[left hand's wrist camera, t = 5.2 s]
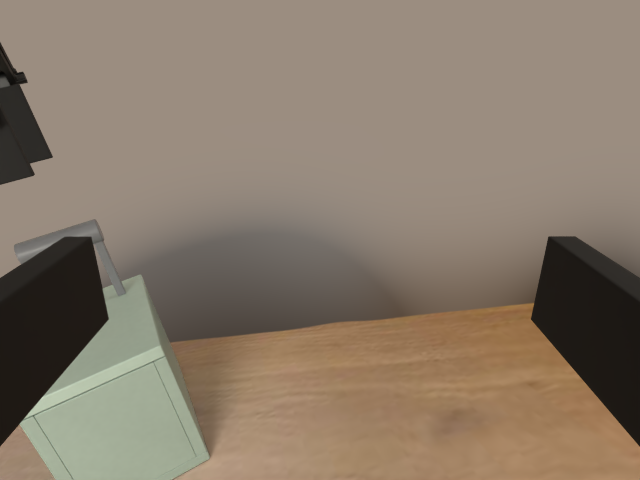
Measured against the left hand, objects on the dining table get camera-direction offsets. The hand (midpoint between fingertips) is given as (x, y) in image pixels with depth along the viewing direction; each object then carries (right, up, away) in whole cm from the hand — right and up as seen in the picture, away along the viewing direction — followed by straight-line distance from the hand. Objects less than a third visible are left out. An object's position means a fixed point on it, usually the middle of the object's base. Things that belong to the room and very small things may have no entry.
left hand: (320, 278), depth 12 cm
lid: (-18, -7, +22) cm, 29 cm away
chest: (-16, -16, +26) cm, 34 cm away
